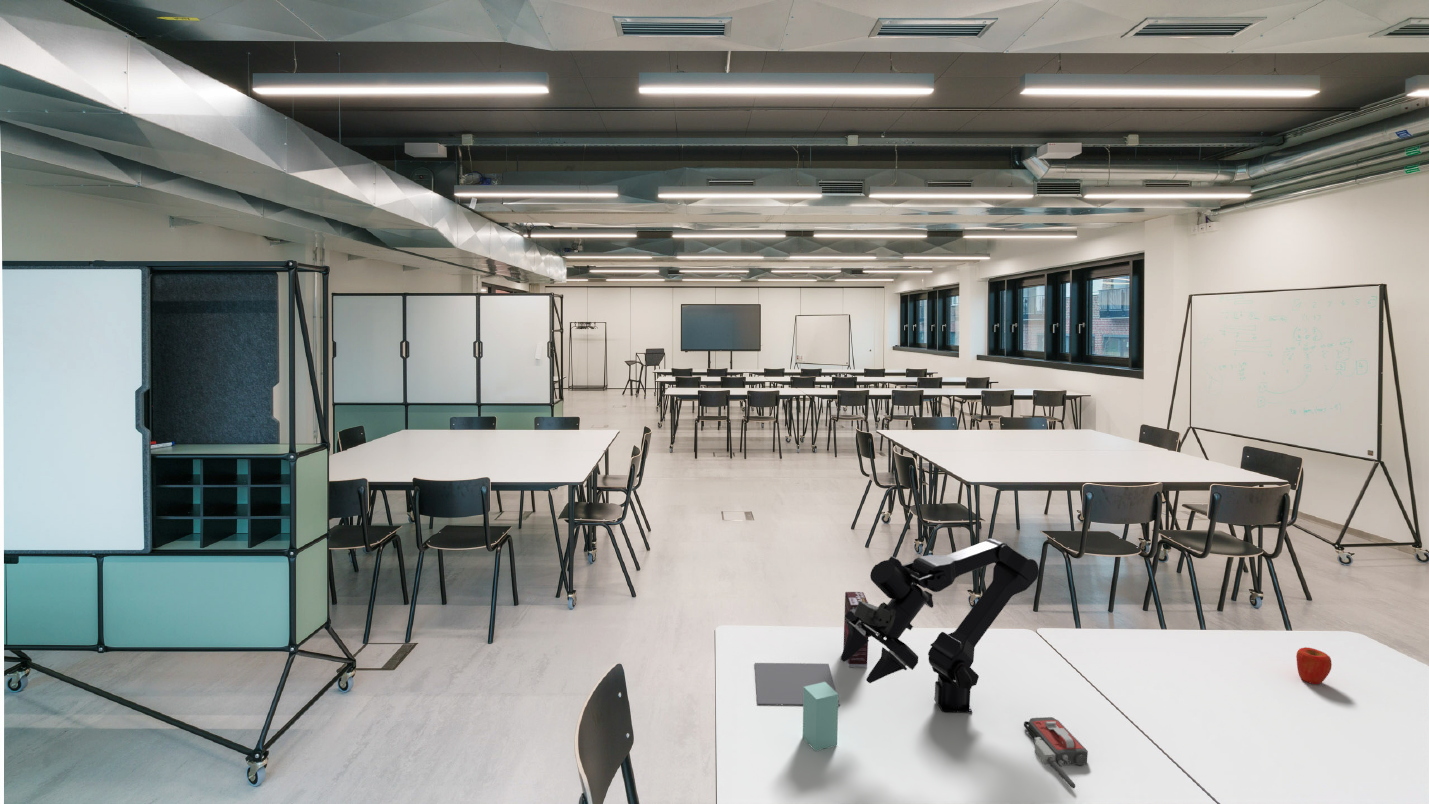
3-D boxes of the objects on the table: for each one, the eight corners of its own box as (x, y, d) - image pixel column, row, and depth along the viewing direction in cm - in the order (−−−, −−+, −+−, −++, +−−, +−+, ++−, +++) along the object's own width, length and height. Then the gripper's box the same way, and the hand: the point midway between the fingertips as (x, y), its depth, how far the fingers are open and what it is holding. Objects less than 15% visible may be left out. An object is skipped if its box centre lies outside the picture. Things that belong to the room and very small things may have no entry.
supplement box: (868, 668, 174) (870, 605, 172) (848, 667, 174) (850, 605, 172) (861, 650, 182) (863, 591, 180) (842, 650, 182) (844, 591, 180)
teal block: (823, 731, 148) (825, 681, 146) (837, 745, 143) (838, 694, 142) (802, 737, 146) (803, 686, 145) (815, 751, 142) (816, 699, 140)
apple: (1334, 684, 166) (1338, 654, 165) (1318, 690, 164) (1322, 659, 163) (1304, 672, 172) (1307, 642, 171) (1287, 676, 170) (1291, 647, 169)
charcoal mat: (828, 664, 175) (828, 663, 175) (839, 705, 158) (839, 704, 157) (754, 664, 176) (754, 662, 176) (757, 704, 158) (757, 703, 158)
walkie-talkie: (1013, 729, 150) (1067, 794, 130) (1014, 709, 149) (1069, 771, 129) (1053, 727, 150) (1113, 791, 131) (1055, 707, 150) (1115, 769, 130)
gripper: (853, 572, 154) (807, 630, 152) (908, 606, 137) (857, 671, 134) (882, 601, 158) (838, 658, 156) (939, 637, 141) (891, 701, 139)
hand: (854, 670), depth 146 cm, fingers open, 9 cm apart
